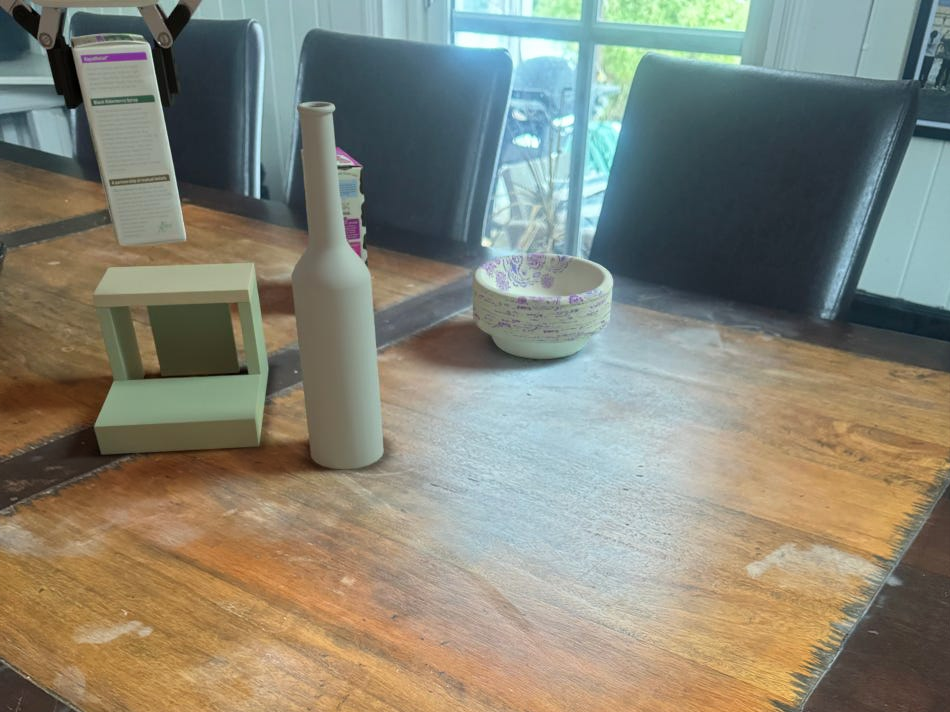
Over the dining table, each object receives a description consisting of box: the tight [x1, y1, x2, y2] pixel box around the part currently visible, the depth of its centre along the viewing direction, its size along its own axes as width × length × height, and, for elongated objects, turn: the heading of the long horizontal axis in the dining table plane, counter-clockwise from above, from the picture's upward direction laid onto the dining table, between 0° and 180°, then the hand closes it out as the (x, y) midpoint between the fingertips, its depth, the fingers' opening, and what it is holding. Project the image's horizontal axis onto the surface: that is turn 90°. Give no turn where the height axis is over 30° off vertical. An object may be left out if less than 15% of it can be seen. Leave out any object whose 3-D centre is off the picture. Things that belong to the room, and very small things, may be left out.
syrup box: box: [69, 32, 187, 248], centre depth 76 cm, size 6×6×14 cm
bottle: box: [291, 101, 385, 470], centre depth 77 cm, size 7×7×28 cm
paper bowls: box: [472, 252, 614, 360], centre depth 104 cm, size 15×15×8 cm
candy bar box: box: [300, 146, 369, 269], centre depth 112 cm, size 11×5×16 cm, turn 21°
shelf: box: [92, 262, 270, 455], centre depth 89 cm, size 14×18×11 cm
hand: (122, 103), depth 75 cm, fingers closed on syrup box, 6 cm apart
